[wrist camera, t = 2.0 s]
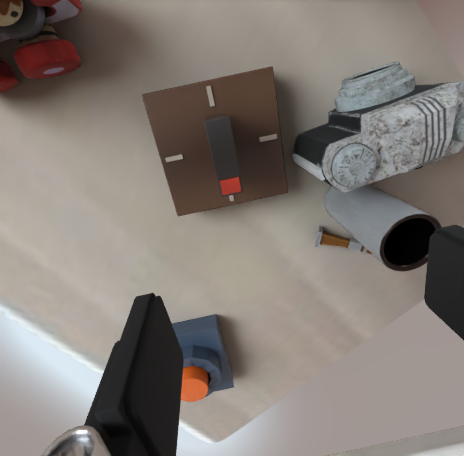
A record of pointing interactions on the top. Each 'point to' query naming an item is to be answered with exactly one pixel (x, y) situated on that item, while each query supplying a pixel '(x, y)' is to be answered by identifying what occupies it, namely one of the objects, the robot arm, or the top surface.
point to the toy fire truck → (37, 38)
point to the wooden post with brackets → (339, 241)
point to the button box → (205, 350)
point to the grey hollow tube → (384, 225)
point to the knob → (224, 154)
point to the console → (197, 145)
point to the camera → (383, 128)
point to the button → (194, 384)
